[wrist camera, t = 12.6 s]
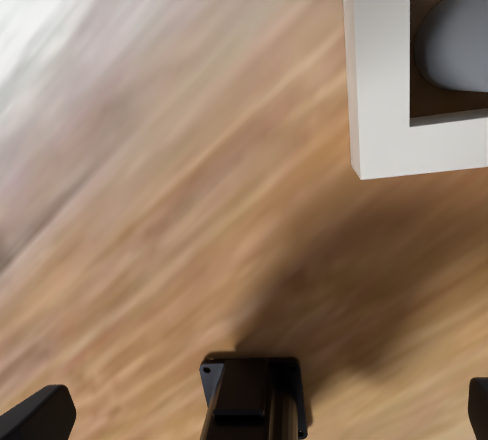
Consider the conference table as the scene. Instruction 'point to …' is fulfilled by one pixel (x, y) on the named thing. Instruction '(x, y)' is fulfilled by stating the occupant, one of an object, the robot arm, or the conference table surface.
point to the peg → (454, 45)
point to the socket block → (399, 102)
